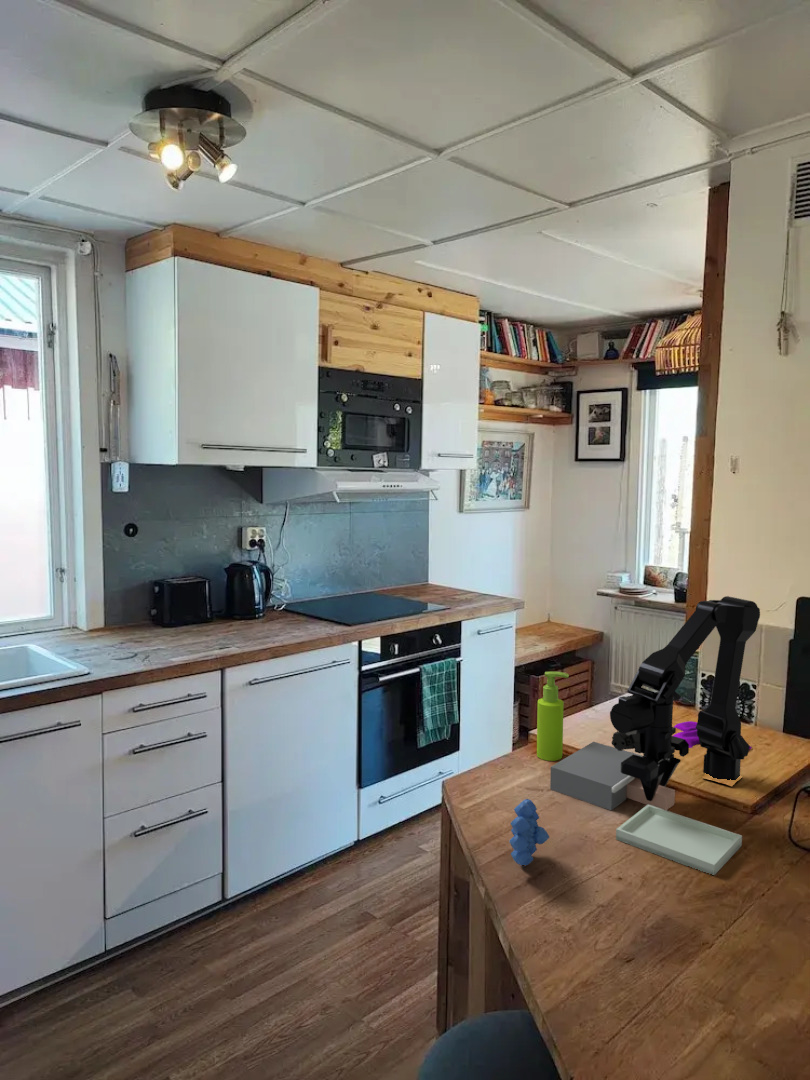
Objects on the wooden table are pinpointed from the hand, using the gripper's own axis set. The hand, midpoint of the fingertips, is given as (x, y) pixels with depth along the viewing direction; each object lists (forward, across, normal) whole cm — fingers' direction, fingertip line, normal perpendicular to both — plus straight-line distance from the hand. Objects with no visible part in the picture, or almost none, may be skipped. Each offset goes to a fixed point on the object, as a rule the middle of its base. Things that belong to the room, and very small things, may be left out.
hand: (654, 796), depth 158 cm
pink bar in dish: (+1, 0, -4) cm, 4 cm away
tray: (+1, +12, +10) cm, 16 cm away
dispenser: (+1, 0, -12) cm, 12 cm away
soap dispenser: (+1, -6, -28) cm, 28 cm away
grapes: (+2, +37, -6) cm, 37 cm away
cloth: (+2, -42, -5) cm, 42 cm away
